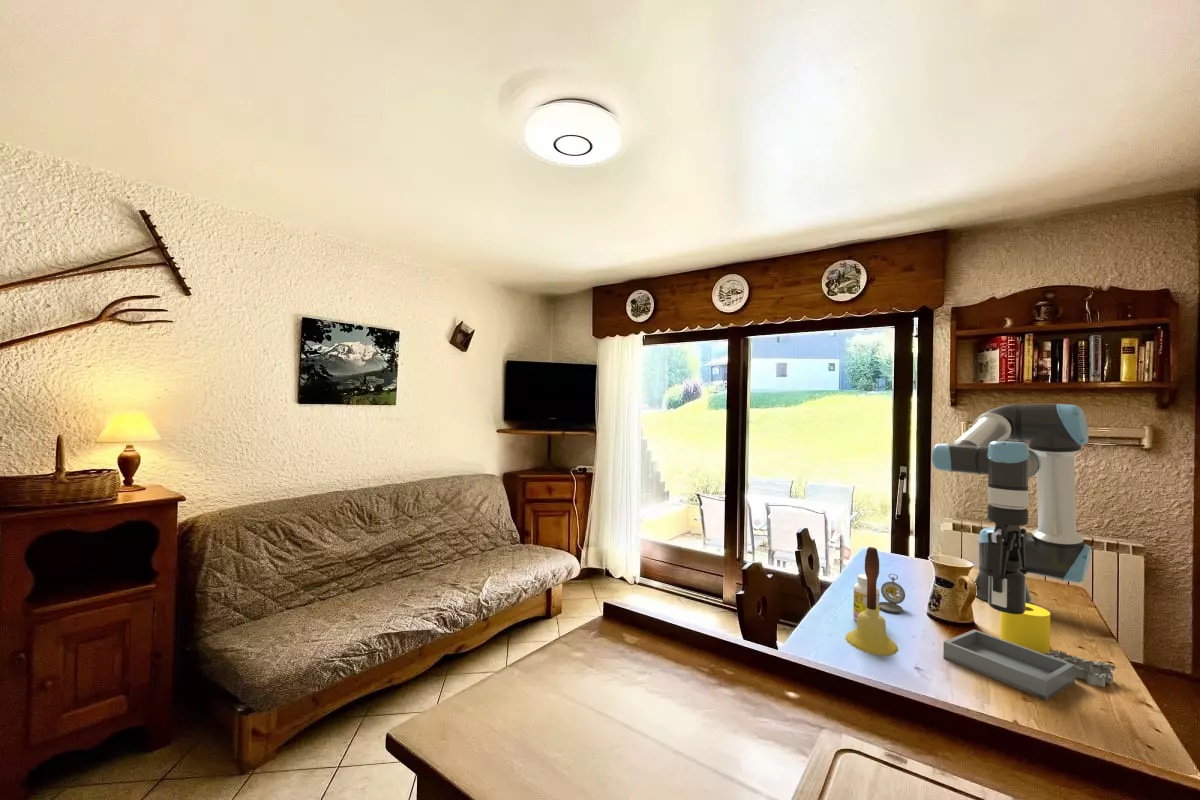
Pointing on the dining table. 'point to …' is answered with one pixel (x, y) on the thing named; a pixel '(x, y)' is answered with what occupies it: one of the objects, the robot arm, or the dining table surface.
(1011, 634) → the yellow toilet roll
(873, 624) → the handbell
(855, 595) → the supplement bottle
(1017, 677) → the tray
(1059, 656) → the egg carton
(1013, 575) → the supplement bottle
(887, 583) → the pocket watch
